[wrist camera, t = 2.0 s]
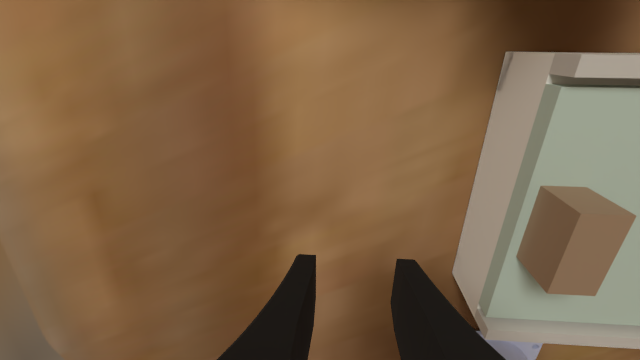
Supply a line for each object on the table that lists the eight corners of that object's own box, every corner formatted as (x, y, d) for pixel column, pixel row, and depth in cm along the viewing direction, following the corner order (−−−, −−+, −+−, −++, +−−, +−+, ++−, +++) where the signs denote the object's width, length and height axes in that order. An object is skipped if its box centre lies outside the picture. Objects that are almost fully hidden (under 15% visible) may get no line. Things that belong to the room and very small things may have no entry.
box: (652, 282, 21) (748, 355, 16) (451, 272, 22) (484, 339, 17) (790, 54, 15) (1011, 59, 10) (505, 51, 16) (582, 54, 11)
